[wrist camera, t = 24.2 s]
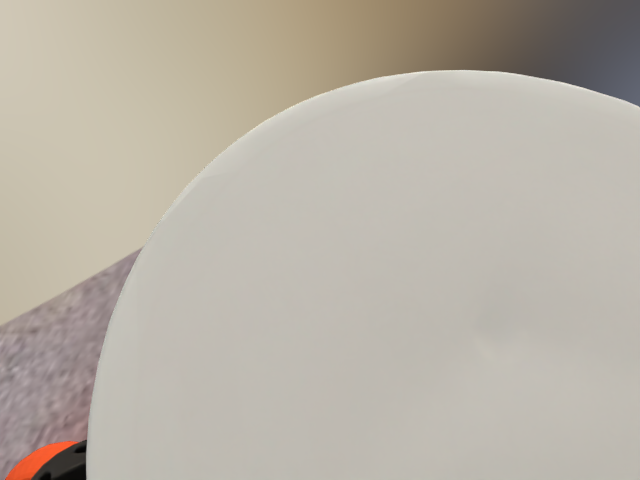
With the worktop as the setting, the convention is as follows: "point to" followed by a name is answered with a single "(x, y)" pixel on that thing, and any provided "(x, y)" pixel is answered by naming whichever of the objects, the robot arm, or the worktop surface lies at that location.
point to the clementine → (36, 461)
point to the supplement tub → (390, 295)
